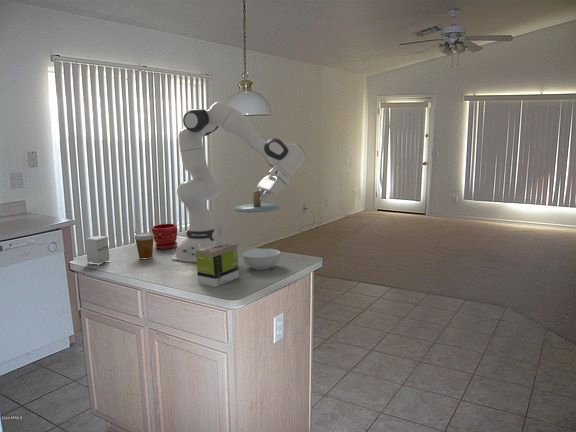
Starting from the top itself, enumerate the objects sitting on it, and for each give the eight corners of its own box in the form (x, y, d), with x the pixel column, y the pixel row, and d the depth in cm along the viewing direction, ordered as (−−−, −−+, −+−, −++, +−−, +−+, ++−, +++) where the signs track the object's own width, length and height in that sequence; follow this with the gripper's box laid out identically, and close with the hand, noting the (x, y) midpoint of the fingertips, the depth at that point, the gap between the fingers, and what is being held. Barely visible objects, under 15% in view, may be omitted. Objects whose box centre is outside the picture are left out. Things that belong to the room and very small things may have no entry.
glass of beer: (158, 255, 249) (157, 232, 246) (150, 260, 239) (148, 236, 237) (141, 255, 250) (139, 232, 248) (132, 260, 241) (130, 236, 239)
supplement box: (98, 265, 232) (95, 239, 230) (87, 264, 236) (84, 238, 233) (110, 261, 239) (108, 236, 237) (99, 260, 242) (97, 235, 240)
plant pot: (159, 244, 274) (158, 223, 271) (182, 244, 271) (180, 223, 269) (148, 249, 261) (147, 227, 259) (171, 250, 258) (170, 228, 256)
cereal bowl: (272, 261, 233) (272, 246, 232) (286, 269, 218) (285, 254, 217) (238, 265, 227) (238, 250, 226) (249, 274, 212) (249, 259, 211)
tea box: (222, 274, 213) (220, 241, 211) (239, 278, 208) (238, 244, 205) (197, 283, 201) (195, 248, 199) (215, 287, 196) (213, 251, 193)
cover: (229, 212, 209) (228, 194, 208) (241, 205, 229) (240, 188, 227) (275, 212, 206) (274, 193, 205) (283, 205, 225) (282, 187, 224)
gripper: (266, 169, 227) (246, 191, 225) (281, 172, 208) (259, 197, 206) (275, 178, 229) (256, 200, 228) (291, 182, 210) (270, 206, 209)
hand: (258, 199), depth 217 cm, fingers closed on cover, 3 cm apart
